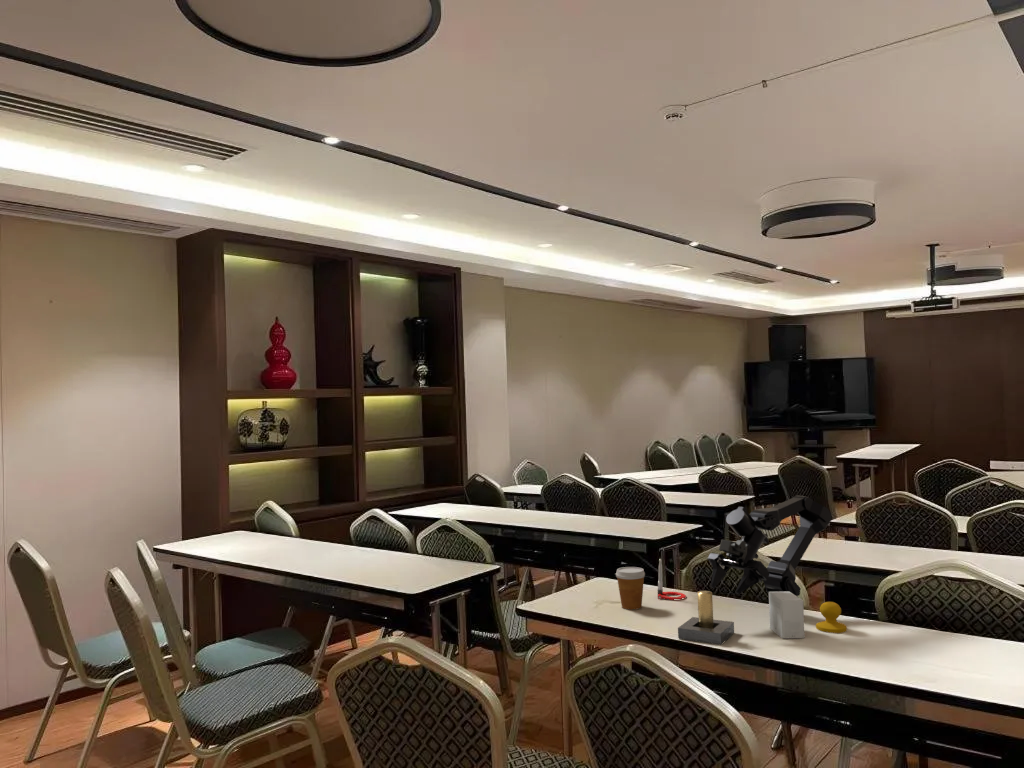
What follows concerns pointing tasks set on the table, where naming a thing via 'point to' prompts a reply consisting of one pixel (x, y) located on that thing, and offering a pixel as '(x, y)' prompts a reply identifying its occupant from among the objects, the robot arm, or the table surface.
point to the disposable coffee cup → (630, 586)
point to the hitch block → (706, 631)
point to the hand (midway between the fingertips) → (724, 590)
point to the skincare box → (786, 614)
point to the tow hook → (660, 591)
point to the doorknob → (831, 619)
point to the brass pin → (705, 609)
